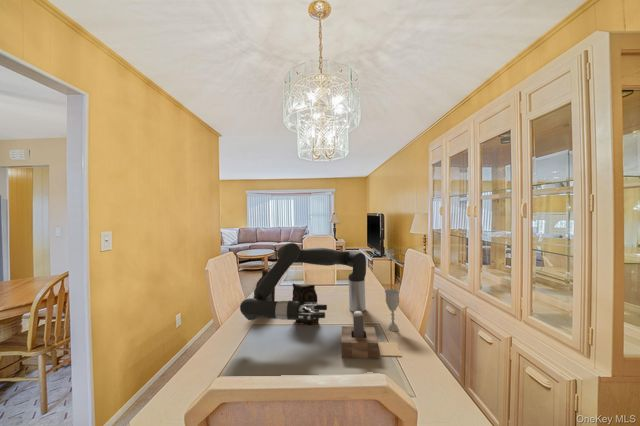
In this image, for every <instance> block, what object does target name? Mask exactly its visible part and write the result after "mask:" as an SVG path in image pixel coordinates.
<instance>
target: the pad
mask: <svg viewBox="0 0 640 426" xmlns="http://www.w3.org/2000/svg"><path fill="white" fill-rule="evenodd" d="M378 353H379V355H380V356H379V357H397V358H398V357H399V358H401V357H402V354H401V351H400V348H399V345H398V343H397V342H390V341H389V342H387V341H386V342H384V341H383V342H382V341H378Z"/></svg>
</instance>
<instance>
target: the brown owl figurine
mask: <svg viewBox="0 0 640 426" xmlns="http://www.w3.org/2000/svg"><path fill="white" fill-rule="evenodd" d="M315 287H316V285H315V284H307V283H294V282H293V283H292V288H293V289H292V300H291V301H299V302H300V305H304V302H317V303H318V295H317V292H316V289H315ZM314 307H315V306H314ZM314 312H315V313H316V312H320V310H315V311H314ZM319 321H320V318H315V319H313V321H309V320H299V319H298V320H294V322H295V323H296V324H298V325H307V326H313V325H318V324H319V323H320V322H319Z"/></svg>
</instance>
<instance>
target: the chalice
mask: <svg viewBox="0 0 640 426" xmlns="http://www.w3.org/2000/svg"><path fill="white" fill-rule="evenodd" d="M384 293H385V303H386V305H387V307H388V309H389V311H391V313H390V315H391V318H390V320H391V322H390V323H389V324H388V327H387V330H388V331H390V332H397V331H399V326H398V324H397V323H396V322H395V311H397V309H398V306H399V305H400V304H399V303H400V290H399V289H394V288H389V289H388V288H387V289H385V290H384Z"/></svg>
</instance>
